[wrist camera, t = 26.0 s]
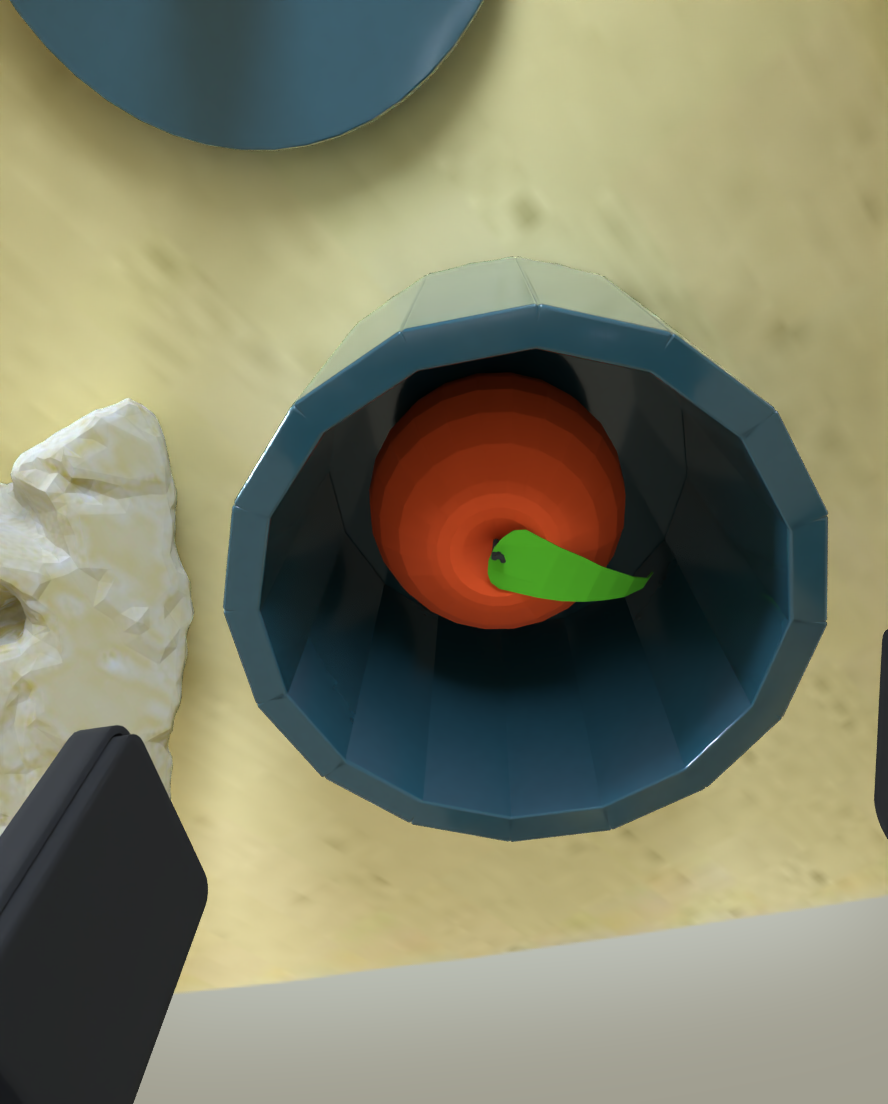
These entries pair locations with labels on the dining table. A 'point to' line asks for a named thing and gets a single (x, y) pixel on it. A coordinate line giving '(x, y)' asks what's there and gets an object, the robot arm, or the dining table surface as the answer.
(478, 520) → the clementine
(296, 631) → the jar
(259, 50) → the jar lid
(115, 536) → the white coral rock
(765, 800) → the dining table surface
